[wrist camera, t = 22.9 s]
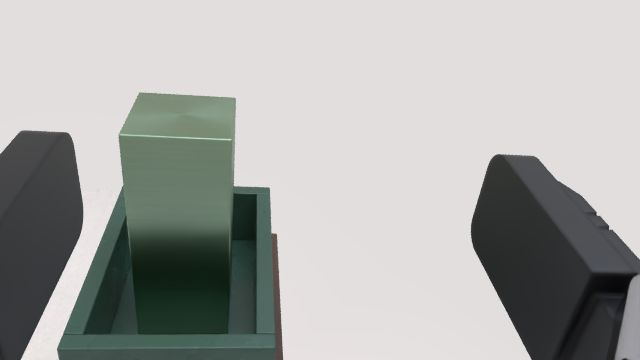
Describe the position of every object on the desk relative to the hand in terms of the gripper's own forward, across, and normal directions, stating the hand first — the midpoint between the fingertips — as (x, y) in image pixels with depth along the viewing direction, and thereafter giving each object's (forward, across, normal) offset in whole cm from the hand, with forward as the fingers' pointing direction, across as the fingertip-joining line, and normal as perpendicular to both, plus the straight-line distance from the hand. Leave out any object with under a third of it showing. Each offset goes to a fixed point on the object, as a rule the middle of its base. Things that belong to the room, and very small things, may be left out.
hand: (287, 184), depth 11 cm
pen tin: (+13, +4, +16) cm, 20 cm away
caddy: (+13, +4, +16) cm, 21 cm away
